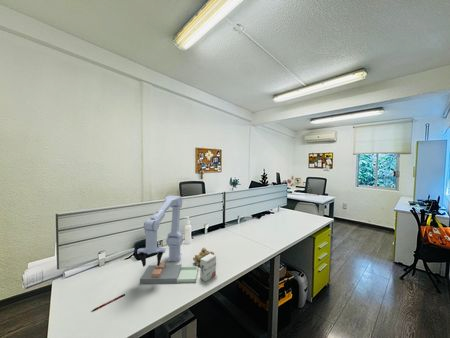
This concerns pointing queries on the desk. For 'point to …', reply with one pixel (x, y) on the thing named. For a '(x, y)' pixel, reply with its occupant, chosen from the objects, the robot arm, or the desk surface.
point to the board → (167, 276)
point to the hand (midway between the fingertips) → (151, 265)
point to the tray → (188, 274)
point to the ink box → (207, 267)
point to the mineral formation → (201, 255)
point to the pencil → (108, 302)
